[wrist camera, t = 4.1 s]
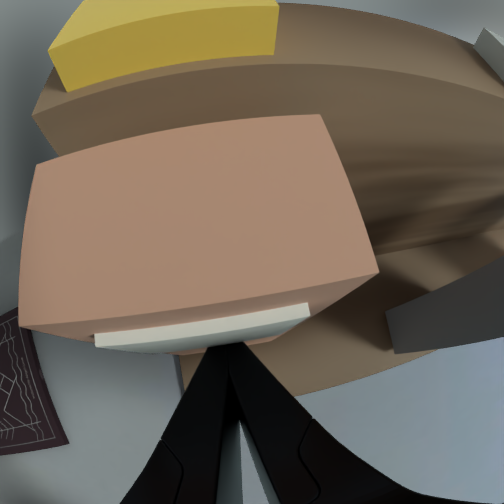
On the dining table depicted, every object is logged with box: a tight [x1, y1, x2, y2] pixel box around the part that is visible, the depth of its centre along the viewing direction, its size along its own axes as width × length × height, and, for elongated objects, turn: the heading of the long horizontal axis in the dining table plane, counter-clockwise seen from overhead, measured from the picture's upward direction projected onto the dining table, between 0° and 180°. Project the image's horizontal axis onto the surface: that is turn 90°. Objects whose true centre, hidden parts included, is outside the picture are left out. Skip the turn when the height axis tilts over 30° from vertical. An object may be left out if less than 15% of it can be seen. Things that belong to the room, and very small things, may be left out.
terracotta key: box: [18, 114, 379, 355], centre depth 9 cm, size 3×4×12 cm, turn 101°
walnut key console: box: [32, 0, 504, 397], centre depth 10 cm, size 10×27×14 cm, turn 100°
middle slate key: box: [385, 256, 504, 354], centre depth 9 cm, size 3×4×12 cm, turn 101°
